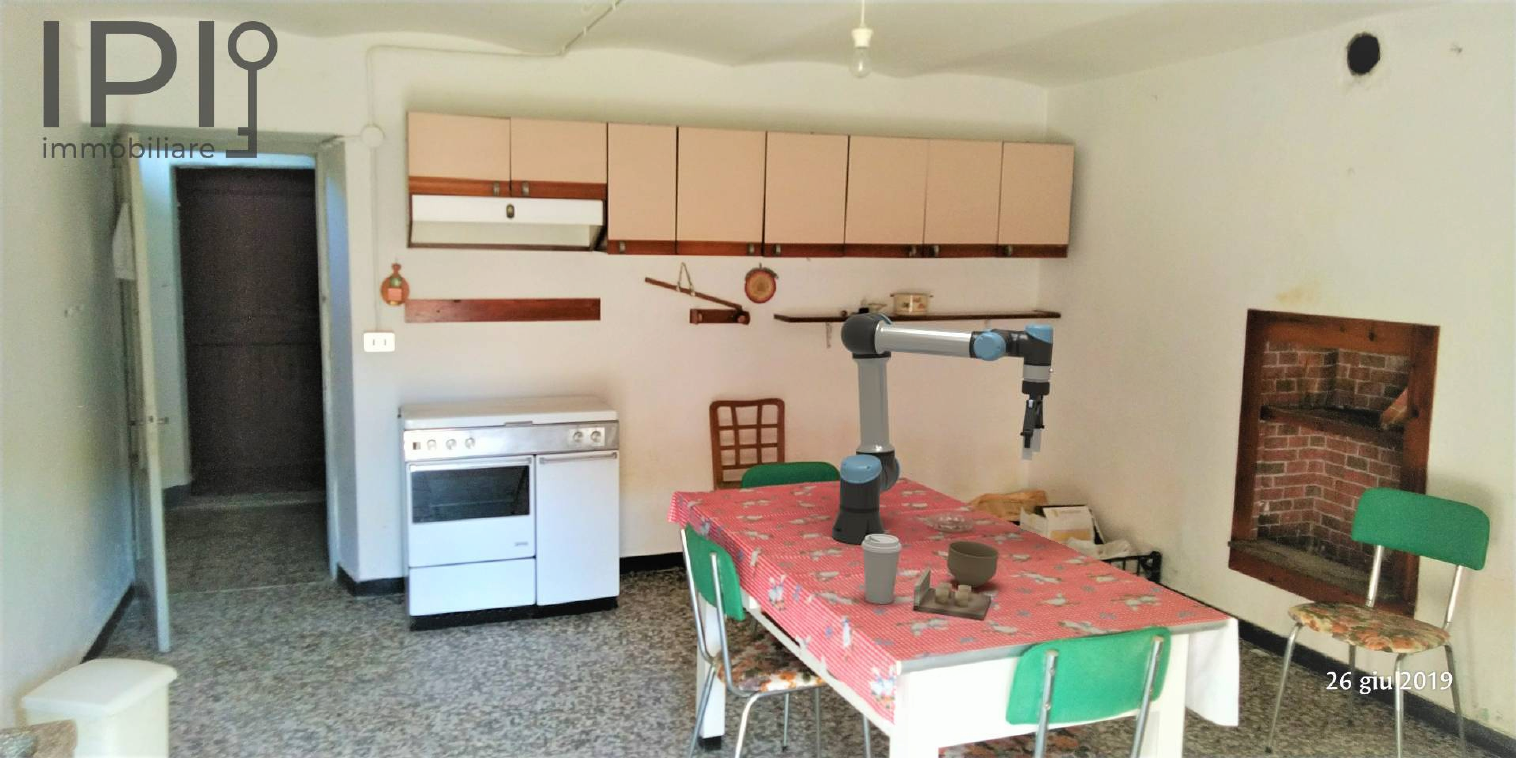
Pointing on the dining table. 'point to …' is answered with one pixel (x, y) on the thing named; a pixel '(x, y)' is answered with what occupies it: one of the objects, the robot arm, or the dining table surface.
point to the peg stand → (948, 599)
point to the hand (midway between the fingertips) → (1030, 455)
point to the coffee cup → (880, 567)
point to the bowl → (972, 562)
